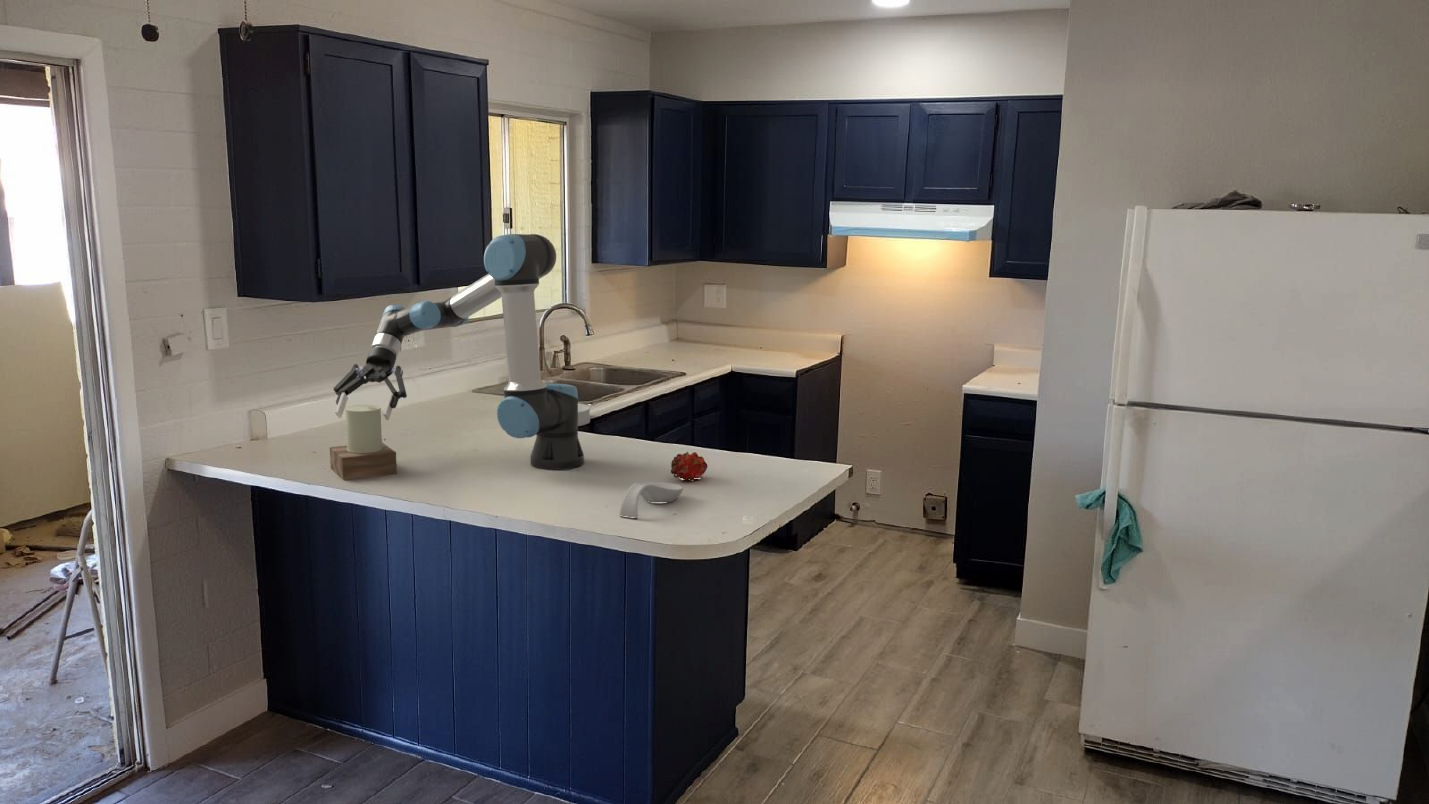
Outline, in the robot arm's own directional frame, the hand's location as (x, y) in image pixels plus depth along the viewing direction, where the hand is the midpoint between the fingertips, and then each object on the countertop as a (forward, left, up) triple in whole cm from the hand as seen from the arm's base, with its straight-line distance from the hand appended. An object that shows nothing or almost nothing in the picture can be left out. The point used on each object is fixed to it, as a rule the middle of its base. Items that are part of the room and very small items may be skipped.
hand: (361, 416), depth 276 cm
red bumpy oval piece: (-50, -74, -15) cm, 90 cm away
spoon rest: (-67, -52, -16) cm, 86 cm away
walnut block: (-1, 0, -15) cm, 15 cm away
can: (-1, 0, -9) cm, 9 cm away
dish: (+38, -75, -16) cm, 85 cm away
